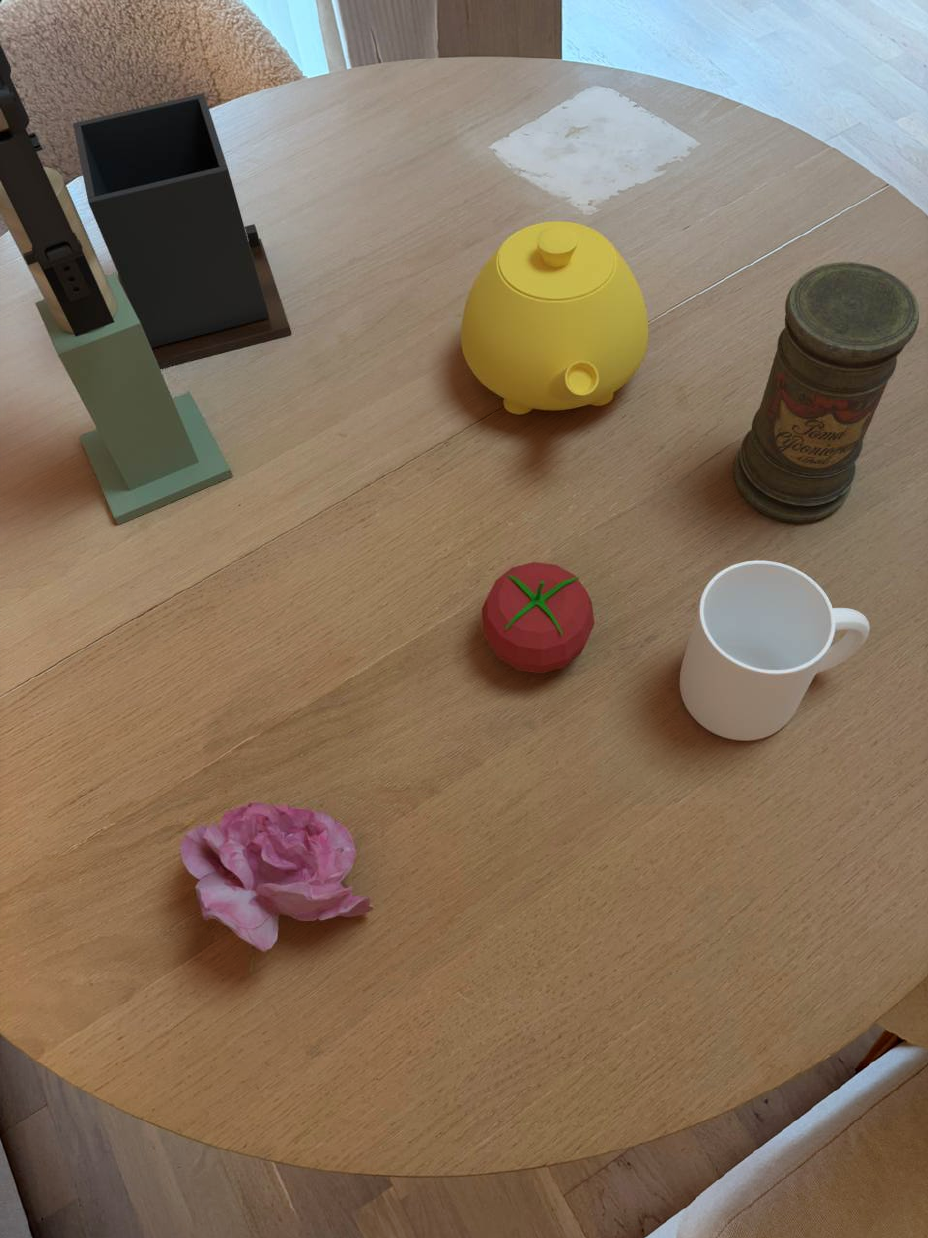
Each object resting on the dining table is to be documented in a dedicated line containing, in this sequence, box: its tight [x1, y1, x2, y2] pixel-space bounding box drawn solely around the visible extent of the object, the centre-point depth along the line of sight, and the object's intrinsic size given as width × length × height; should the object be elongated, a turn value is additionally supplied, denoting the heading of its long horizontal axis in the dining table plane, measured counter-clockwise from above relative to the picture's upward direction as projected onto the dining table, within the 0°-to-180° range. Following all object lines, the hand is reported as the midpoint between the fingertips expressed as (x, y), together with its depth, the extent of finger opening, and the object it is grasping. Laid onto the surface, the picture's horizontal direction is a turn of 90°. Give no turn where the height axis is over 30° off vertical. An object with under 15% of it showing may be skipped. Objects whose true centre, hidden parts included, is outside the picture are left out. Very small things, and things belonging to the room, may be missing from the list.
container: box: [733, 261, 920, 524], centre depth 73 cm, size 9×9×18 cm
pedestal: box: [34, 273, 234, 525], centre depth 78 cm, size 10×10×16 cm
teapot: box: [460, 220, 649, 415], centre depth 81 cm, size 20×16×14 cm
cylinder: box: [0, 166, 118, 333], centre depth 67 cm, size 4×4×10 cm
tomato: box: [481, 561, 595, 674], centre depth 71 cm, size 8×8×8 cm
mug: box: [679, 559, 871, 742], centre depth 67 cm, size 12×8×10 cm
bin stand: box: [114, 223, 293, 370], centre depth 94 cm, size 13×14×3 cm
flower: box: [180, 801, 374, 974], centre depth 62 cm, size 11×10×10 cm
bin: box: [72, 93, 269, 348], centre depth 87 cm, size 11×11×15 cm
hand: (74, 286), depth 70 cm, fingers open, 8 cm apart
